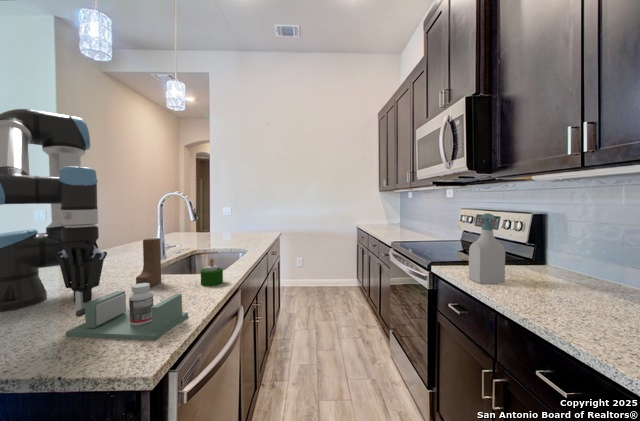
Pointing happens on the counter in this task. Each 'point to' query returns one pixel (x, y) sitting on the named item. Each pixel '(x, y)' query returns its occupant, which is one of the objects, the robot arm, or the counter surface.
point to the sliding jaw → (103, 309)
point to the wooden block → (151, 262)
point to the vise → (120, 327)
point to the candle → (211, 275)
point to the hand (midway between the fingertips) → (83, 313)
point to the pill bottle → (140, 304)
